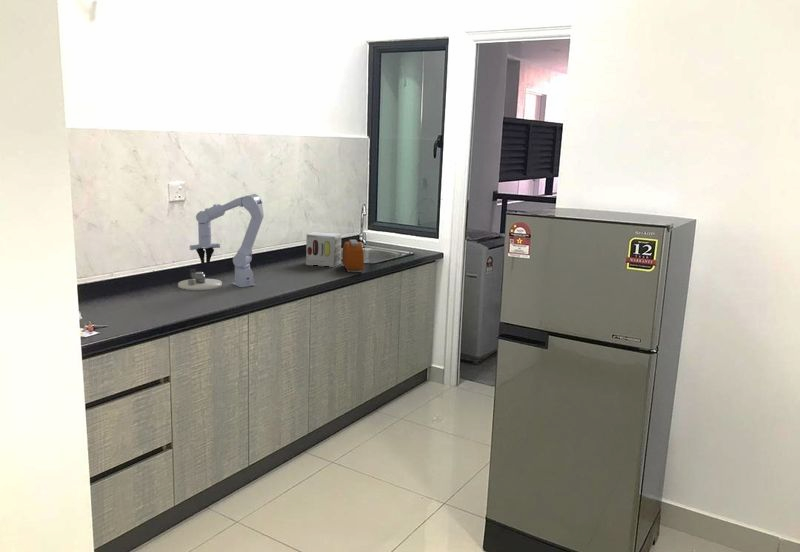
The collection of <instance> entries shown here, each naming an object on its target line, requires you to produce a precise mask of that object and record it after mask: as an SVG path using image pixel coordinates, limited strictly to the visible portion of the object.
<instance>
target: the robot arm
mask: <svg viewBox="0 0 800 552" xmlns="http://www.w3.org/2000/svg"><path fill="white" fill-rule="evenodd" d="M237 207H240V208H244V209H246V211H247V212H248V213H249V214H250V217H251V218H250V221H249V223H248V226H247V229H246V232H245V234H244V236H243V239H242V242H241V246H240V247H239V248H238V250H237V252H236V254H235V255H234V256H233V257H232V263H233V265H234V282H231V285H234V286H236V287H238V288H245V287H252V286H254V287H255V286H256V284H255V283H254V282H255V281H254V272H253V270H252V269H251V264H250V263H251V262H252V259H253V257H252V254H253V247H254V244H255V241H256V239H257V236H258V233H259V230H260V227H261V225H262V222H263V219H264V216H265V213H264V207H263V200H262V199H261V197H260V195H258V194H256V193H253V194H249V195H245V196H242V197H237V198H234V199H233V200H230V201H229V202H226V203H225V204H223V205H222V204H219V203H218V204H217V203H215V204H213V205H212V206H211V207H209V208H207V207H206V208H204V210H200V211H199V212H197V213H196V215H195V220H196V221H197V225H198V226H197V227H198V230H197V231H198V232H197V233H198V244H193V245H192V244H191V245H189V250H190V251H194V250H196V252H197V255H198V257H199V259H200V263H201V264H202V265H205V261H206V264H210V262H211V259H212V258H211V257H212V256H213V253H214V252H215V249H220V248H221V243H212V229H211V228H212V225H211V222H212V221H213V220H216V219H217V218H220V217H222V216H224V215H225V213H226V212H227V211H229V210H232V209H233V210H234V208H237ZM205 256H206V257H205Z"/></svg>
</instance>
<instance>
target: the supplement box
mask: <svg viewBox="0 0 800 552" xmlns="http://www.w3.org/2000/svg"><path fill="white" fill-rule="evenodd" d="M305 242H306V245H305V246H306V247H305V249H306V250H305V251H306V253H305V254H306V255H305V265H306V266H313V265H318V266H317V267H324V266H329V267H328V268H336V267H338V266H339V264H340V265H341V264H342V233H339V232H324V231H323V232H322V231H312V232H309V233H306V241H305ZM337 265H338V266H337ZM335 266H336V267H335Z"/></svg>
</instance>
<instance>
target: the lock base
mask: <svg viewBox="0 0 800 552" xmlns="http://www.w3.org/2000/svg"><path fill="white" fill-rule="evenodd" d="M222 286H223V282H222V281H221V280H220V279H216V278H215V279H214V278H205V283H196V282H195V278H190V279H184V280H181V281H179V282H178V283H177V287H178V288H179V289H180V288H181V290H184V289H185V291H197V290H198V291H211V290H216V289H219V288H221V287H222Z"/></svg>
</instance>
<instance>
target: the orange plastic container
mask: <svg viewBox="0 0 800 552" xmlns="http://www.w3.org/2000/svg"><path fill="white" fill-rule="evenodd" d="M364 256H365V255H364V247H363V244H362V242H360V241H357V239H349V240H348V241H345V242H344V243H343V246H342V253H341V263H342V265H343V267H344V266H345V267H344V268H345V269H346V270H347V271H348V272H347V271H346V272H347V273H362V271H364V264H365V258H364Z"/></svg>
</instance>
